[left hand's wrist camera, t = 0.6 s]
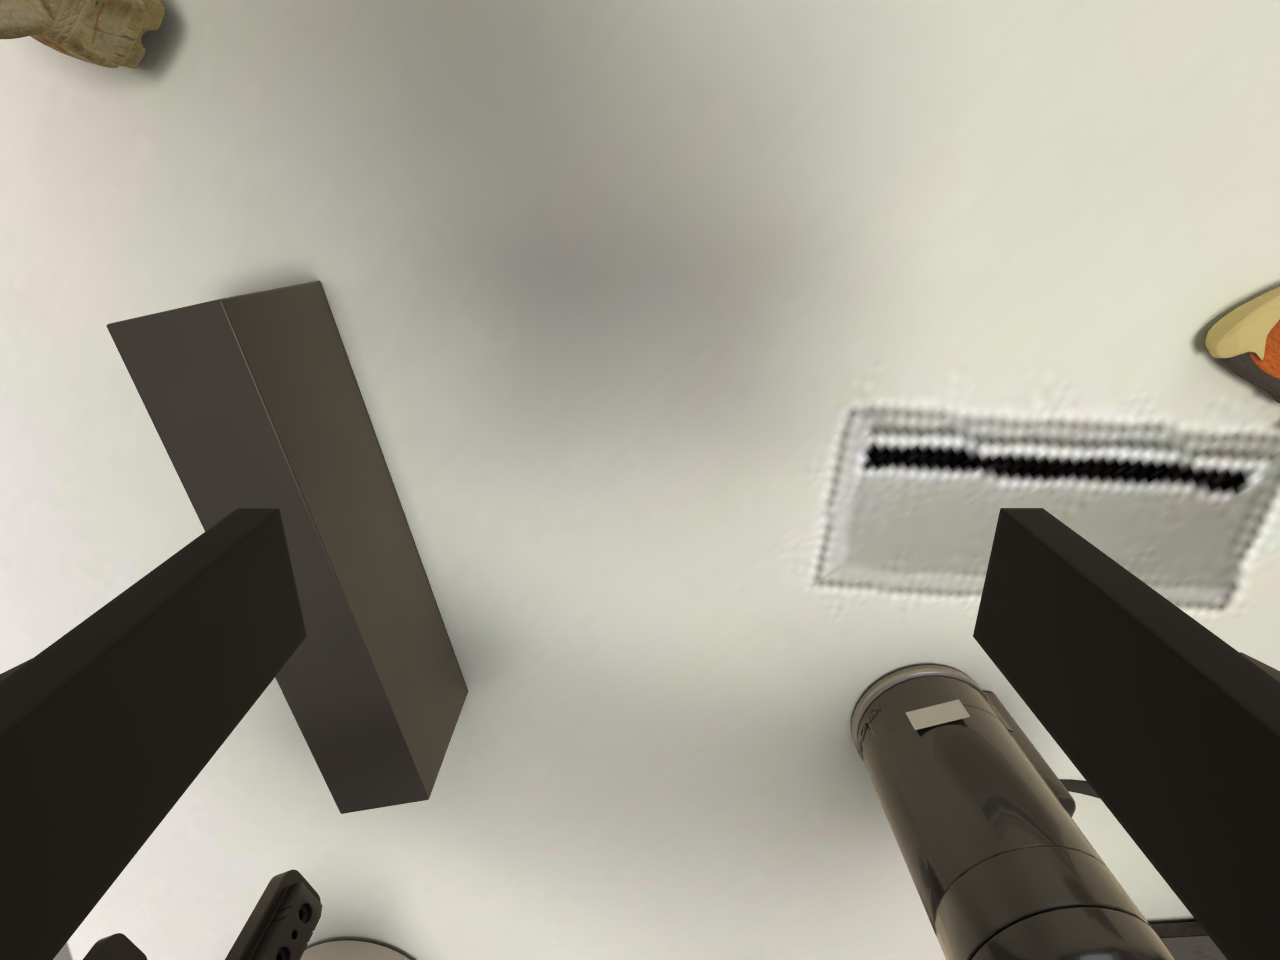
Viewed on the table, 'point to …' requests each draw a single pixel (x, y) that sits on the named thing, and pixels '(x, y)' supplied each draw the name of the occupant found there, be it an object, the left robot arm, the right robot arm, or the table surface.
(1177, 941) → the toy
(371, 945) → the bust sculpture
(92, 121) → the table surface
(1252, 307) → the toy gun
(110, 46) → the sculpture
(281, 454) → the bar
